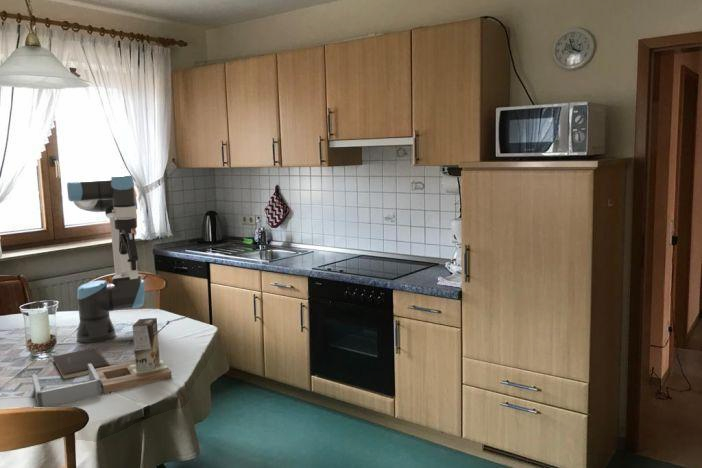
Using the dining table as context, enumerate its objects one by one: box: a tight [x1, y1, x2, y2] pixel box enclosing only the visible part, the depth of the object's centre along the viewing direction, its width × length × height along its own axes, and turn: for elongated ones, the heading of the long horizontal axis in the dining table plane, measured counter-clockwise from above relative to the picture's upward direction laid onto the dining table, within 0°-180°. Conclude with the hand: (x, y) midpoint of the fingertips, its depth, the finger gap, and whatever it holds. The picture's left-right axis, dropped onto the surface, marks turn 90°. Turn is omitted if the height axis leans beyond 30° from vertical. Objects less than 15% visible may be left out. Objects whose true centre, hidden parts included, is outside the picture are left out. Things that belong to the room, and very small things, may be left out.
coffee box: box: [132, 317, 161, 371], centre depth 215 cm, size 9×6×16 cm
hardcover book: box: [52, 347, 111, 380], centre depth 227 cm, size 16×23×2 cm
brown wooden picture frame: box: [95, 358, 172, 394], centre depth 214 cm, size 18×22×3 cm
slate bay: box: [31, 363, 103, 408], centre depth 202 cm, size 18×18×5 cm
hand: (129, 275), depth 227 cm, fingers open, 13 cm apart
